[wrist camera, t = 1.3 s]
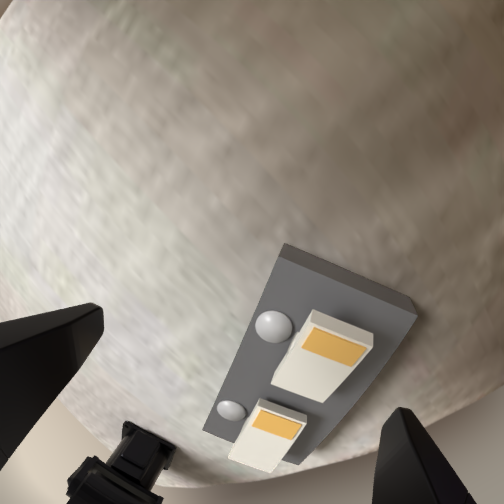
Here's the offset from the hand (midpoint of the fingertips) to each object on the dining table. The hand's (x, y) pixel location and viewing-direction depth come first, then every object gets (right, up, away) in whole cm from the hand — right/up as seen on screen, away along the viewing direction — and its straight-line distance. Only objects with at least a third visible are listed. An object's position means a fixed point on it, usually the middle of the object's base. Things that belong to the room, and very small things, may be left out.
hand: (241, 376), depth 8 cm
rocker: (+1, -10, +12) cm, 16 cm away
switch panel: (+3, -7, +15) cm, 16 cm away
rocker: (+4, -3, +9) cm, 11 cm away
